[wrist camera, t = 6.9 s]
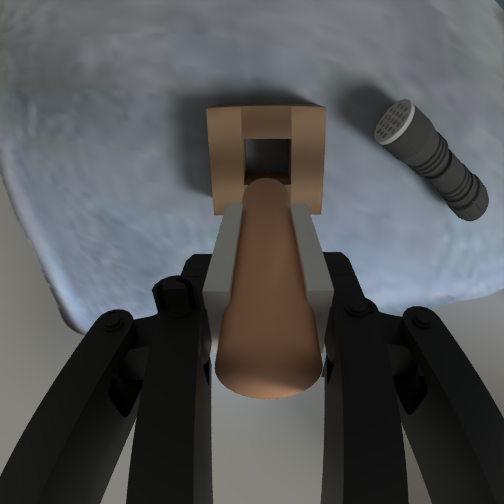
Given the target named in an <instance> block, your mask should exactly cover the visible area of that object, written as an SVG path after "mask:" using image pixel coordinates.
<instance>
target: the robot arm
mask: <svg viewBox="0 0 504 504" xmlns="http://www.w3.org/2000/svg"><path fill="white" fill-rule="evenodd" d="M495 1H496V2H497V3H498V4H499V5H500V6H501V8H502V9H503V10H504V0H495ZM290 214H291V219H292V224H293V229H294V234H295V239H296V244H297V250H298V255H299V260H300V266H301V271H302V277H303V283H304V288H305V294H306V300H307V303H308V304H309V305H310V307H311V308H312V310H313V313H314V317H315V323H316V329H317V334H318V340H319V346H320V352H321V353H322V352H323V348H324V343H325V347H326V353H327V354H326V359H325V363H324V367H323V372H322V376H321V377H325V419H324V420H325V423H324V456H323V457H324V458H323V478H322V494H321V504H409V502H408V484H407V471H406V461H405V451H404V443H403V434H402V426H401V423H402V425H403V428H404V430H405V432H406V435H407V438H408V440H409V443H410V445H411V448H412V450H413V453H414V455H415V458H416V460H417V463H418V466H419V468H420V471H421V474H422V476H423V479H424V482H425V485H426V488H427V490H428V493H429V496H430V499H431V502H432V504H504V418H503V416H502V414H501V413H500V411H499V409H498V407H497V405H496V404H495V402H494V400H493V398H492V397H491V395H490V393H489V392H488V390H487V389H486V387H485V385H484V384H483V382H482V380H481V378H480V377H479V375H478V374H477V372H476V371H475V369H474V367H473V366H472V364H471V363H470V361H469V360H468V358H467V357H466V355H465V354H464V352H463V351H462V349H461V348H460V346H459V345H458V343H457V342H456V340H455V339H454V337H453V336H452V335H451V333H450V332H449V330H448V329H447V327H446V326H445V325H444V324H443V322H442V321H441V319H440V318H439V317H438V315H436V314H435V313H434V312H433V311H432V310H430V309H428V308H425V307H421V306H413V307H410V308H408V309H407V310H406V311H405V312H404V313H403V316H402V317H400V316H394V315H389V314H385V313H381V312H379V311H378V308H377V306H376V305H375V304H374V303H373V302H372V301H371V300H369V299H367V298H365V297H364V294H363V292H362V289H361V287H360V284H359V282H358V279H357V277H356V275H355V272H354V270H353V269H352V265H351V263H350V260H349V259H348V258H347V257H346V256H345V255H344V254H342V253H341V252H322V249H321V246H320V243H319V240H318V237H317V234H316V231H315V228H314V225H313V222H312V219H311V216H310V213H309V210H308V207H307V204H306V203H290ZM242 217H243V204H227V205H226V209H225V212H224V215H223V219H222V222H221V226H220V229H219V233H218V236H217V240H216V243H215V247H214V250H213V254H193V255H192V256H191V257H190V258H189V259H188V260H187V261H186V262H185V265H184V268H183V271H182V273H181V275H180V276H179V275H176V276H170V277H167V278H164V279H162V280H160V281H159V282H158V283H156V284H155V285H154V287H153V289H152V292H153V296H154V299H155V303H156V307H157V310H158V313H157V314H156V315H154V316H150V317H145V318H140V319H135V320H134V319H133V316H132V315H131V314H130V313H129V312H128V311H125V310H119V309H115V310H111V311H108V312H106V313H104V314H102V315H101V316H100V317H99V318H98V319H97V320H96V321H95V323H94V324H93V325H92V327H91V328H90V330H89V331H88V332H87V334H86V335H85V337H84V338H83V339H82V341H81V342H80V344H79V345H78V347H77V348H76V350H75V351H74V352H73V354H72V355H71V357H70V358H69V360H68V361H67V363H66V364H65V366H64V367H63V369H62V370H61V372H60V373H59V375H58V376H57V378H56V379H55V381H54V382H53V384H52V386H51V387H50V389H49V391H48V392H47V393H46V395H45V397H44V398H43V400H42V402H41V403H40V405H39V406H38V408H37V410H36V411H35V413H34V415H33V416H32V418H31V420H30V422H29V423H28V425H27V427H26V429H25V430H24V432H23V434H22V436H21V438H20V439H19V441H18V443H17V445H16V447H15V448H14V450H13V452H12V454H11V456H10V458H9V460H8V462H7V464H6V466H5V468H4V470H3V472H2V474H1V476H0V504H100V503H101V500H102V498H103V495H104V493H105V490H106V488H107V485H108V483H109V480H110V478H111V476H112V473H113V471H114V468H115V466H116V464H117V461H118V459H119V456H120V454H121V452H122V450H123V447H124V445H125V443H126V440H127V438H128V436H129V433H130V431H131V429H132V426H133V424H134V422H135V420H136V425H135V432H134V439H133V446H132V453H131V461H130V469H129V478H128V489H127V499H126V504H213V494H212V493H213V491H212V453H211V366H212V365H211V360H210V350H211V345H212V350H213V353H214V354H217V348H218V342H219V335H220V329H221V323H222V317H223V313H224V311H225V309H226V307H227V306H228V304H229V303H230V299H231V292H232V285H233V278H234V271H235V264H236V257H237V251H238V244H239V237H240V230H241V224H242ZM136 417H137V419H136Z"/></svg>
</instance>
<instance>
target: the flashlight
mask: <svg viewBox="0 0 504 504" xmlns="http://www.w3.org/2000/svg"><path fill="white" fill-rule="evenodd" d="M374 138H375V140H376V141H377V142H378V143H379V144H381V145H382V146H383V147H384V148H385V149H386V150H388V151H389V152H390V153H391V154H392V155H393V156H395V157H396V158H397V159H399V160H401V161H402V162H404V163H406V164H408V166H409V167H410V168H412V170H413V171H415V172H416V173H417V174H418V175H421V176H425V177H426V178H427V179H428V180H429V181H430V182H431V183H432V184H433V185H434V186H435V187H436V188H437V190H438V192H439V193H440V194H441V195H442V196H443V197H444V199H445V200H446V201H447V203H448V206H449V208H450V209H451V210H452V211H453V212H454V213H455V214H456V215H457V216H458V217H459V218H461V219H464V220H466V221H474V220H477V219H478V218H480V217H481V216H482V215H483V214H484V212H485V211H486V209H487V207H488V203H489V198H488V194H487V190H486V187H485V186H484V185H483V183H482V182H481V181H480V179H479V178H478V177H477V176H476V175H475V174H472V173H471V172H470V171H469V170H468V169H467V168H466V166H465V165H464V164H463V163H461V162H460V161H459V160H458V158H457V157H456V156H455V155H454V154H453V153H452V152H451V150H449V149H448V143H447V141H446V140H445V139H444V138H443V137H442V136H441V135H440V133H438V132H437V131H436V130H435V128H434V126H433V125H432V123H431V121H430V120H429V119H428V118H427V117H426V116H425V115H424V114H423V113H422V112H421V111H420V110H419V109H418V108H417V107H416V106H415V105H414V104H413V103H412V102H411V101H409V100H407V99H403V100H400V101H398V102H396V103H395V104H393V105H392V106H391V107H390V108H389V109H388V110H387V111H386V112H385V114H384V115H383V116H382V118H381V119H380V121H379V122H378V124H377V126H376V128H375V132H374Z"/></svg>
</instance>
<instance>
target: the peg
mask: <svg viewBox="0 0 504 504" xmlns="http://www.w3.org/2000/svg"><path fill="white" fill-rule="evenodd" d="M290 203H291V201H290V196H289V193H288V191H287V189H286V187H285V186H284V185H283V184H282V183H280V182H279V181H277V180H275V179H271V178H261V179H258V180H255V181H253V182H252V183H250V184H249V185H248V186H247V188H246V189H245V191H244V194H243V198H242V203H241V204H243V217H242V224H241V230H240V237H239V244H238V251H237V257H236V264H235V271H234V278H233V285H232V292H231V299H230V303H229V304H228V306H227V307H226V309H225V311H224V313H223V317H222V323H221V329H220V335H219V342H218V348H217V355H216V361H215V373H216V375H217V377H218V379H219V381H220V382H221V383H222V384H223V385H224V386H226V387H227V388H228V389H230V390H232V391H233V392H235V393H238V394H240V395H243V396H247V397H251V398H258V399H278V398H284V397H288V396H292V395H295V394H298V393H300V392H302V391H304V390H306V389H308V388H309V387H311V386H312V385H313V384H314V383H315V382H316V381H317V380H318V378H319V377H320V375H321V373H322V368H323V364H322V358H321V352H320V346H319V340H318V334H317V329H316V323H315V317H314V313H313V310H312V308H311V307H310V305H309V304H308V303H307V300H306V294H305V288H304V283H303V277H302V271H301V266H300V260H299V255H298V250H297V244H296V239H295V234H294V229H293V224H292V219H291V214H290Z"/></svg>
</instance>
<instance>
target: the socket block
mask: <svg viewBox="0 0 504 504" xmlns="http://www.w3.org/2000/svg"><path fill="white" fill-rule="evenodd" d="M206 113H207V129H208V143H209V157H210V170H211V182H212V194H213V206H214V215H224V212H225V209H226V205H227V204H241V203H242V198H243V194H244V191H245V189H246V188H247V186H248V185H249V184H250V183H252V182H253V181H255V180H258V179H261V178H271V179H275V180H277V181H279V182H280V183H282V184H283V185H284V186H285V187H286V189H287V191H288V193H289V196H290V201H291V203H306V204H307V207H308V210H309V213H310V214H321V208H322V193H323V176H324V155H325V123H326V107H323V106H320V105H314V104H236V105H218V106H212V107H209V108H206ZM245 139H288V173H246V151H245Z"/></svg>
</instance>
